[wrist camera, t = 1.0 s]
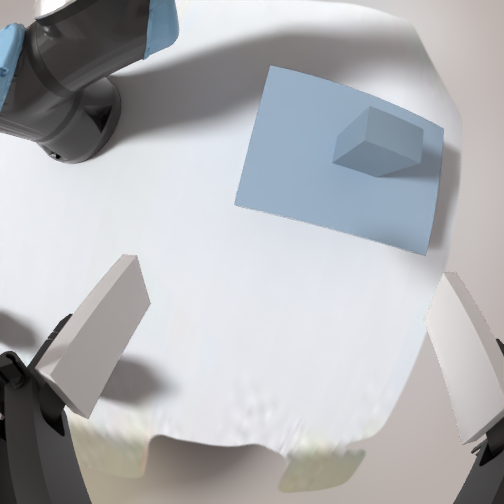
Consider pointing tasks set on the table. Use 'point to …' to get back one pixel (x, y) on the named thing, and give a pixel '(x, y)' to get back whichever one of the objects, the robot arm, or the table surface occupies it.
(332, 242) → the table surface
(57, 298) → the table surface
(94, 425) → the table surface
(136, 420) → the table surface
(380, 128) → the lid
